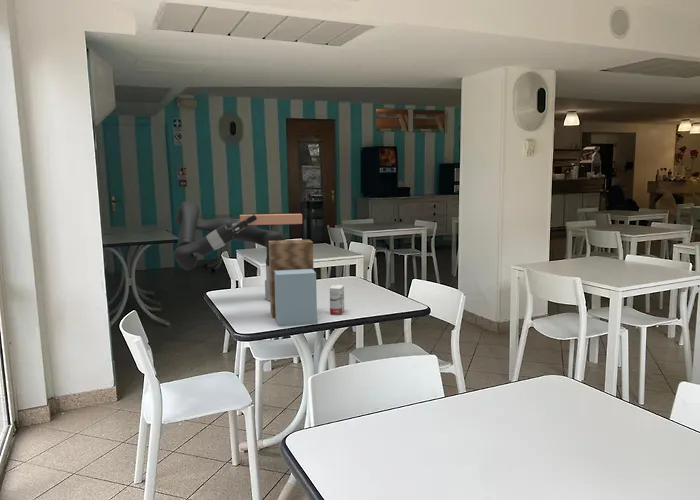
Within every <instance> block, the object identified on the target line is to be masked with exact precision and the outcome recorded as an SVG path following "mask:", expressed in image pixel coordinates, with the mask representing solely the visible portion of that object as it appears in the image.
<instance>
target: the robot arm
mask: <svg viewBox="0 0 700 500" xmlns="http://www.w3.org/2000/svg"><path fill="white" fill-rule="evenodd" d="M200 211H201V209H200V206H199V204H197V203H196V202H195V201H192V200H183V202H181V203H180V205H179V207H178V210H177V213H176V216H175V222H176V224H178V225H179V226H180V227H179V228H180V229H179V232H178V239H177V248H176V249H175V250H174V252H173V256H172V257H173V258H174V260H175V261H176V262H177V263H178V265H180V267H181V268H182V269H184V270H185V271H191V270H193V269H195V268H196V266H197V263H198V254H199V255H201V256H202V257H206V256H208V255H210V254H211V253H213V252H215V251H216V250H218V249H220V248H222V247H225V245H227V244H229V243H231V242H233V241H234V240H235V241H241V242H247V243H254V244H258V245H260V246H262V247H265V249H266V258H265V274H266V275H265V276H266V279H265V280H264V291H265V292H264V293H265V294H264V296H265V297H264V298H265V300H267V301H269V302H270V274H269V241H282V240H286V238H285V236H284V235H283V234H282V233H280V232H278V231H275V230H273V231H272V230H267V229H264V228H260V227H259V228H258V227H256V226H254V225H249V223H251V222H253V221H255V220H256V219H257V218H256V216H255V215H256V214H255V213H252V214H251V215H253V216H251V217H249V218H247V219H245V220H244V221H240V219H239V220H238V219H235V218H231V217H220V218H215V219H204V218H203V219H202V218H199V216H200ZM243 223H244V225H243ZM196 230H197V231H203V232H206V233H208V234H207V235H205V236H203V237H202V238H200V239H198V240H196Z"/></svg>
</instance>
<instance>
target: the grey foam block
mask: <svg viewBox="0 0 700 500" xmlns="http://www.w3.org/2000/svg"><path fill="white" fill-rule="evenodd" d="M274 279H275V314H276V318H275V322H276V324H277V327H284V326H296V325H298V326H299V325H312V324H317V323H318V307H317V306H318V303H317V300H318V299H317V294H318V293H317V272H316V271H315V270H314V268H313V269H300V270H279V271H274Z"/></svg>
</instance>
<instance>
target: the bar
mask: <svg viewBox="0 0 700 500" xmlns="http://www.w3.org/2000/svg"><path fill="white" fill-rule="evenodd" d="M254 215H255V216H256V218H257V219H256V220H255V221H253V222H251V223H249V225H251V226H258V225H259V226H260V225H265V226H266V225H271V226H272V225H301V224H302V225H303V214H302V213H273V214H272V213H269V214H268V213H267V214H266V213H265V214H254ZM251 216H253V215H252V214H239V220H240V221H244V220H245V219H247V218H249V217H251ZM243 225H244V223H243Z"/></svg>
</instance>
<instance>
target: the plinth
mask: <svg viewBox="0 0 700 500" xmlns="http://www.w3.org/2000/svg"><path fill="white" fill-rule="evenodd" d="M300 269H313V270H314V241H312V240H311V239H291V240H290V239H289V240H288V239H287V240H286V239H285V240H282V241H269V274H270V301H269V302H270V303H269V305H270V314H271V317H272V319H276V314H275V279H274V271H279V270H300Z"/></svg>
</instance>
